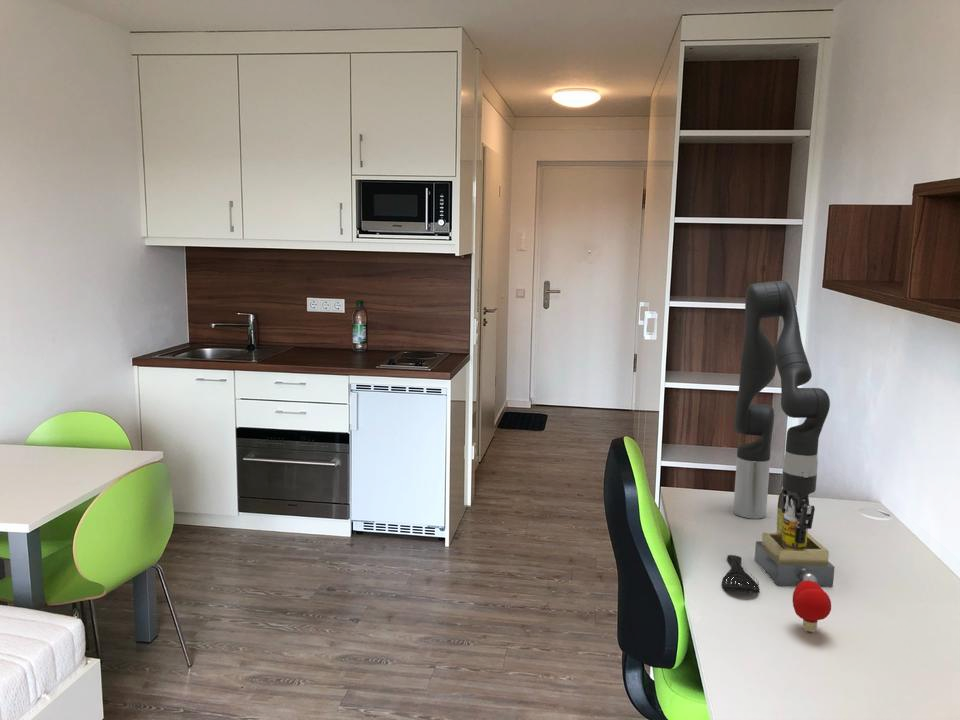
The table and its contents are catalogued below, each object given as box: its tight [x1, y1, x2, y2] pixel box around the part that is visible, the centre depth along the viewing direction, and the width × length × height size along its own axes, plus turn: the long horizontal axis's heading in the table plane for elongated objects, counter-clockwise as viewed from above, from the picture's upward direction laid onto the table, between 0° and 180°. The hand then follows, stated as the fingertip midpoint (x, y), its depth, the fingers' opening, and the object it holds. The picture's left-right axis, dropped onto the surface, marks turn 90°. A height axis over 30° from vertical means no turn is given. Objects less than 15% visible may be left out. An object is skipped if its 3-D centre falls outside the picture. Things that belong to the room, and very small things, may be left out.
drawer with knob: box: [754, 532, 835, 588], centre depth 183 cm, size 18×13×8 cm
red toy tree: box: [792, 581, 832, 634], centre depth 156 cm, size 9×7×10 cm
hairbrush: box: [721, 554, 760, 594], centre depth 183 cm, size 8×4×25 cm
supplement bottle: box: [782, 505, 809, 549], centre depth 184 cm, size 6×6×10 cm
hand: (794, 537), depth 184 cm, fingers closed on supplement bottle, 5 cm apart
